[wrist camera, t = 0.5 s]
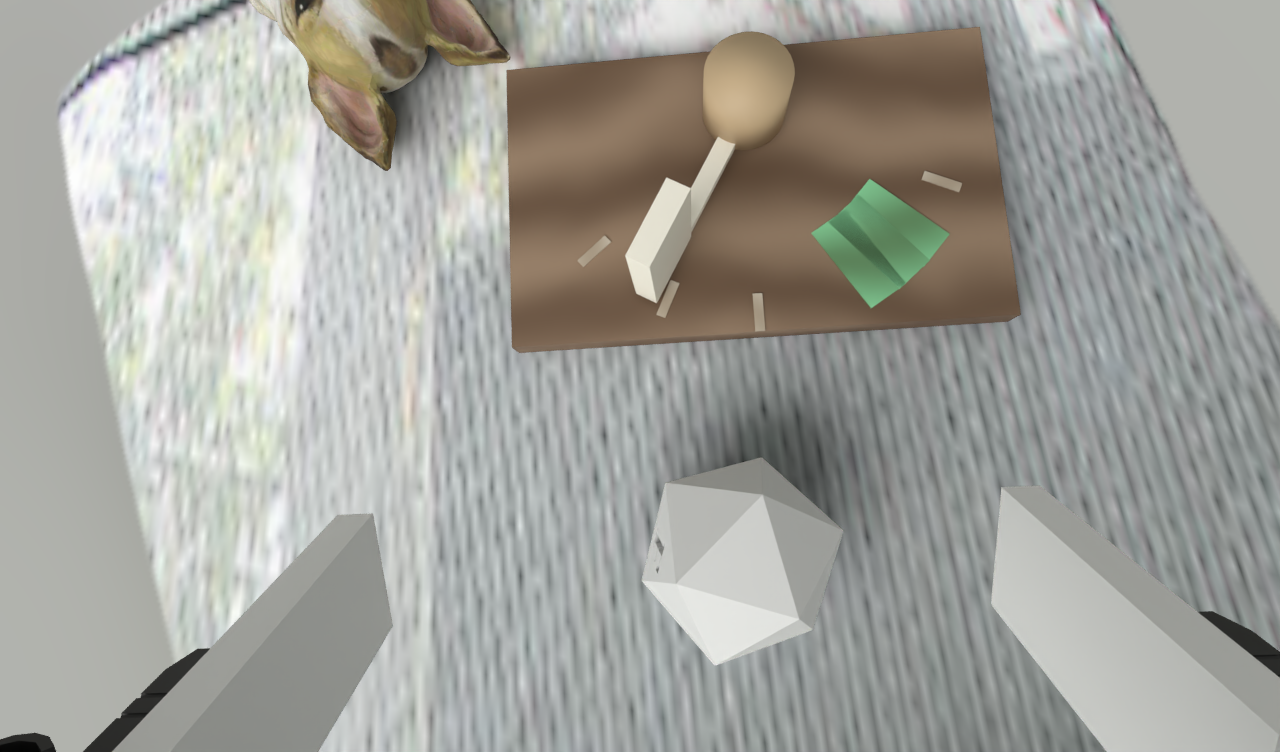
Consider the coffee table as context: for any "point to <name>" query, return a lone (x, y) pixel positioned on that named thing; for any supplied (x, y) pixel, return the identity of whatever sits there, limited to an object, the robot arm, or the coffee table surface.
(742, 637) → the die
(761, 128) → the knob lever
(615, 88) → the dial plate
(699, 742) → the coffee table surface
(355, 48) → the ceramic sculpture
